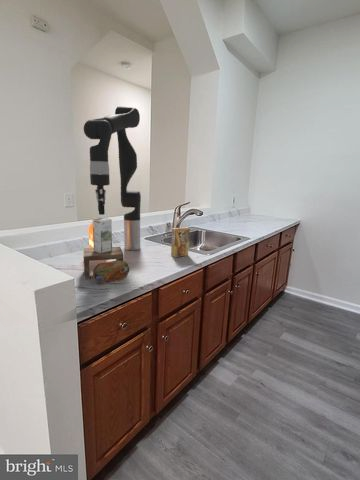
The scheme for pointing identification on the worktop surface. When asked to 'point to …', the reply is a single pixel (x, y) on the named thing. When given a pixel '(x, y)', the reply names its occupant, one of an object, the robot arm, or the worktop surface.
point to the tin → (110, 271)
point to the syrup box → (102, 235)
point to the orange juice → (91, 236)
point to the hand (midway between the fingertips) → (101, 212)
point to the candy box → (180, 241)
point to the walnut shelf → (99, 257)
